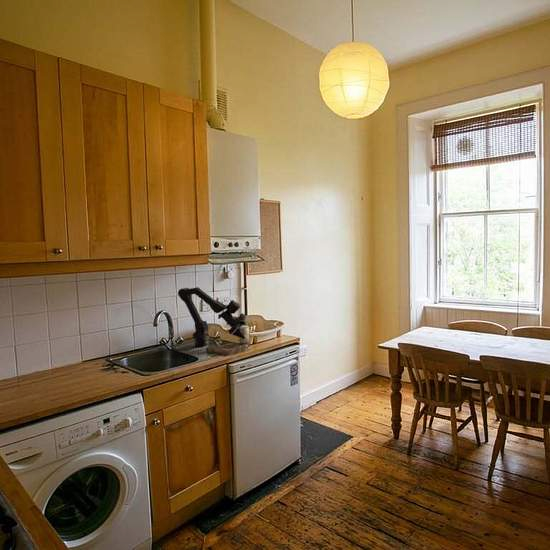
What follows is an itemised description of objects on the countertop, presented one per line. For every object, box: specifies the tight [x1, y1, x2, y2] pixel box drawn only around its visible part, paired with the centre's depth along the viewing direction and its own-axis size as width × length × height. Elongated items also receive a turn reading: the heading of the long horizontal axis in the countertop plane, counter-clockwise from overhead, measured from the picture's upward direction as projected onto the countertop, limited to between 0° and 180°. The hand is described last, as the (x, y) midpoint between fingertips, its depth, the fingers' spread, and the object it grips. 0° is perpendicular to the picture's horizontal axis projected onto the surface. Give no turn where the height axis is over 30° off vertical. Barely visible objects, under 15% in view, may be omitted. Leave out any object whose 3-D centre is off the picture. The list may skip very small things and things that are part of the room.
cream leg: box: [240, 325, 250, 349], centre depth 248 cm, size 5×5×13 cm
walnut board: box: [214, 342, 246, 356], centre depth 239 cm, size 13×13×3 cm
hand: (247, 336), depth 248 cm, fingers open, 9 cm apart
